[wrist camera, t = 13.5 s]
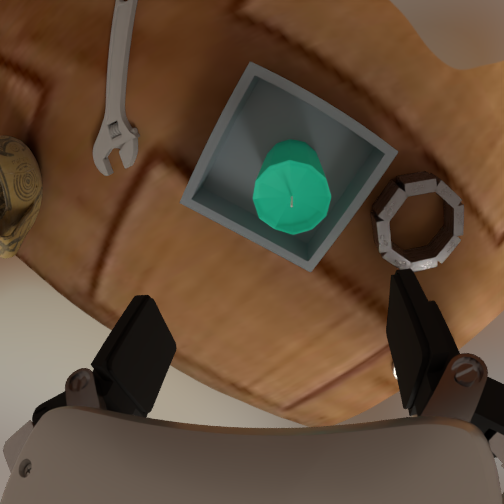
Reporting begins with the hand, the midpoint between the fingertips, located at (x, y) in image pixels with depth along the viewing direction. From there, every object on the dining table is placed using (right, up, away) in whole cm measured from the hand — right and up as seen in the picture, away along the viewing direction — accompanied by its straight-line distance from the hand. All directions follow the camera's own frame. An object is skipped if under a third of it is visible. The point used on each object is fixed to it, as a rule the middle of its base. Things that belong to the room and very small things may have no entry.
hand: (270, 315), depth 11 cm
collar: (+19, +7, +21) cm, 30 cm away
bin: (+3, +12, +21) cm, 24 cm away
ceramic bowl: (-37, +15, +25) cm, 48 cm away
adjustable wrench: (-16, +23, +18) cm, 33 cm away
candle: (+4, +12, +20) cm, 23 cm away
